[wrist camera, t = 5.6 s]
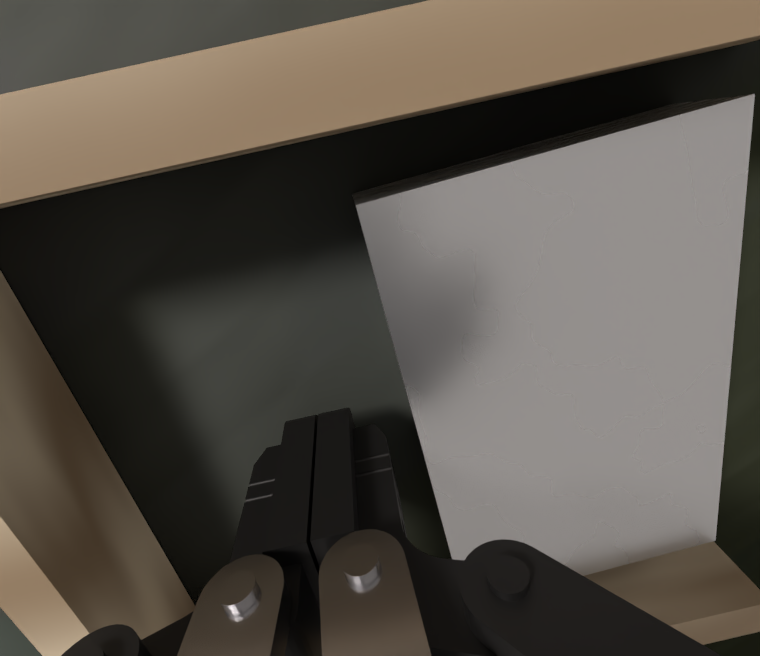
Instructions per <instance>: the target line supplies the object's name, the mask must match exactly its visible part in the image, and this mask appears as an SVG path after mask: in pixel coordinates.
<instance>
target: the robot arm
mask: <svg viewBox="0 0 760 656" xmlns="http://www.w3.org/2000/svg"><path fill="white" fill-rule="evenodd" d="M249 484H250V487H248V491H247V495H246V503H244V507H243V511H242V515H241V519H240V523H239V527H238V531H237V535H236V539H235V543H234V547H233V551H232V555H231V559H230V563H229V564H228V565H226V566H225V567H223V568H222V569H221V570H219V571H218V572H217V573H216V574H215V575H214V576H213V577H212V578H211V579H210V581H209V582H208V583H207V584H206V586H205V587H204V589H203V590H202V592H201V594H200V596H199V598H198V601H197V603H196V606H195V609H194V611H193V612H191V613H190V614H188V615H186V616H185V617H183V618H181V619H179V620H178V621H176V622H174V623H172V624H170V625H168V626H166V627H164V628H163V629H161V630H159V631H157V632H155V633H153V634H151V635H149V636H148V637H146V638H144V639H142V640H141V639H140V638H139V636H138V635H137V633H136V632H135V631H134V629H132V628H131V627H129V626H127V625H123V624H115V625H109V626H106V627H103V628H100V629H98V630H96V631H94V632H91V633H90V634H88V635H86V636H85V637H83V638H82V639H80V640H79V641H78V642H76V643H75V644H74V645H72V646H71V647H70V648H69V649H68V650H67V651H65V652H64V653H63V654H62V655H61V656H721V655H720V654H718V653H716V652H714V651H713V650H711V649H709V648H707V647H706V646H704V645H702V644H701V643H699V642H697V641H695V640H694V639H692V638H690V637H688V636H687V635H685V634H683V633H681V632H680V631H678V630H676V629H674V628H673V627H671V626H669V625H668V624H666V623H664V622H662V621H661V620H659V619H657V618H655V617H654V616H652V615H650V614H648V613H647V612H645V611H643V610H641V609H640V608H638V607H636V606H634V605H633V604H631V603H629V602H628V601H626V600H624V599H622V598H621V597H619V596H617V595H615V594H614V593H612V592H610V591H608V590H607V589H605V588H603V587H601V586H600V585H598V584H596V583H595V582H593V581H591V580H589V579H588V578H586V577H584V576H582V575H581V574H579V573H577V572H575V571H574V570H572V569H570V568H568V567H567V566H565V565H563V564H562V563H560V562H558V561H556V560H555V559H553V558H551V557H549V556H548V555H546V554H544V553H542V552H541V551H539V550H537V549H535V548H534V547H532V546H530V545H528V544H525V543H522V542H519V541H515V540H506V539H500V540H493V541H489V542H486V543H484V544H482V545H479V546H478V547H477V548H475V549H474V550H473V551H472V552H471V553H470V554H469V555H468V556H467V557H466V559H465V560H454V559H444V558H438V557H434V556H431V555H428V554H426V553H424V552H421V551H420V550H419V549H417V548H416V547H414V546H413V545H412V544H411V543H410V542H409V540H408V539H407V535H406V529H405V524H404V518H403V513H402V508H401V502H400V497H399V491H398V486H397V482H396V477H395V473H394V469H393V464H392V460H391V456H390V452H389V447H388V443H387V439H386V436H385V434H384V433H383V432H382V431H381V430H380V429H379V428H378V427H377V426H376V425H375V424H372V425H367V426H363V427H358V428H355V425H354V421H353V418H352V414H351V411H350V408H344V409H340V410H335V411H331V412H326V413H321V414H319V415H313V416H308V417H304V418H299V419H295V420H290V421H286V422H285V426H284V431H283V437H282V442H281V445H278V446H273V447H269V448H266V450H265V451H264V452H263V454H262V455H261V456H260V458H259V459H258V461H257V462H256V463H255V465H254V467H253V471H252V475H251V479H250V483H249Z"/></svg>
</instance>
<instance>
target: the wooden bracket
mask: <svg viewBox="0 0 760 656" xmlns="http://www.w3.org/2000/svg"><path fill="white" fill-rule="evenodd" d="M756 40H760V0H429V1H425V2H420V3H416V4H411V5H406V6H402V7H397V8H393V9H388V10H384V11H379V12H375V13H370V14H365V15H361V16H356V17H352V18H347V19H343V20H338V21H334V22H329V23H324V24H320V25H315V26H311V27H306V28H302V29H297V30H293V31H288V32H283V33H279V34H274V35H270V36H265V37H261V38H256V39H251V40H247V41H242V42H238V43H233V44H229V45H224V46H220V47H215V48H210V49H206V50H201V51H197V52H192V53H188V54H183V55H179V56H174V57H169V58H165V59H160V60H156V61H151V62H147V63H142V64H138V65H133V66H128V67H124V68H119V69H115V70H110V71H106V72H101V73H97V74H92V75H87V76H83V77H78V78H74V79H69V80H65V81H60V82H56V83H51V84H46V85H42V86H37V87H33V88H28V89H24V90H19V91H15V92H10V93H5V94H1V95H0V209H1V208H5V207H10V206H14V205H19V204H23V203H28V202H32V201H37V200H41V199H46V198H50V197H55V196H59V195H64V194H69V193H73V192H78V191H82V190H87V189H91V188H96V187H100V186H105V185H109V184H114V183H118V182H123V181H127V180H132V179H136V178H141V177H145V176H150V175H154V174H159V173H163V172H168V171H172V170H177V169H181V168H186V167H190V166H195V165H199V164H204V163H208V162H213V161H217V160H222V159H226V158H231V157H235V156H240V155H244V154H249V153H253V152H258V151H262V150H267V149H271V148H276V147H280V146H285V145H289V144H294V143H298V142H303V141H307V140H312V139H316V138H321V137H325V136H330V135H334V134H339V133H343V132H348V131H352V130H357V129H361V128H366V127H370V126H375V125H380V124H384V123H389V122H393V121H398V120H402V119H407V118H411V117H416V116H420V115H425V114H429V113H434V112H438V111H443V110H447V109H452V108H456V107H461V106H465V105H470V104H474V103H479V102H483V101H488V100H492V99H497V98H501V97H506V96H510V95H515V94H519V93H524V92H528V91H533V90H537V89H542V88H546V87H551V86H555V85H560V84H564V83H569V82H573V81H578V80H582V79H587V78H591V77H596V76H600V75H605V74H609V73H614V72H618V71H623V70H627V69H632V68H636V67H641V66H645V65H650V64H654V63H659V62H663V61H668V60H672V59H677V58H681V57H686V56H691V55H695V54H700V53H704V52H709V51H713V50H718V49H722V48H727V47H731V46H736V45H740V44H744V43H748V42H752V41H756ZM584 577H586V578H588V579H589V580H591V581H593V582H595V583H596V584H598V585H600V586H601V587H603V588H605V589H607V590H608V591H610V592H612V593H614V594H615V595H617V596H619V597H621V598H622V599H624V600H626V601H628V602H629V603H631V604H633V605H634V606H636V607H638V608H640V609H641V610H643V611H645V612H647V613H648V614H650V615H652V616H654V617H655V618H657V619H659V620H661V621H662V622H664V623H666V624H668V625H669V626H671V627H673V628H674V629H676V630H678V631H680V632H681V633H683V634H685V635H687V636H688V637H690V638H692V639H694V640H695V641H697V642H699V643H701V644H702V645H704V644H709V643H713V642H717V641H722V640H726V639H730V638H734V637H739V636H743V635H747V634H751V633H756V632H760V589H759V588H758V587H757V586H756V585H755V584H754V583H753V582H752V581H751V580H750V579H749V578H748V577H747V576H746V575H745V574H744V573H743V572H742V571H741V570H740V568H739V567H738V566H737V565H736V564H735V563H734V562H733V561H732V560H731V559H730V558H729V557H728V556H727V555H726V554H725V553H724V552H723V551H722V550H721V549H720V548H719V547H718V545H717V544H716V543H715V542H714V541H713V542H709V543H705V544H701V545H698V546H694V547H690V548H686V549H683V550H679V551H675V552H671V553H668V554H664V555H660V556H656V557H653V558H649V559H645V560H641V561H638V562H634V563H630V564H626V565H623V566H619V567H615V568H611V569H608V570H604V571H600V572H596V573H592V574H589V575H585V576H584ZM0 607H1V608H2V609H3V611H4V612H5V613H6V614H7V615H8V616H9V618H10V619H11V620H12V621H13V622H14V623H15V624H16V626H17V627H18V628H19V629H20V630H21V631H22V633H23V634H24V635H25V636H26V637H27V638H28V640H29V641H30V642H31V643H32V644H33V645H34V646H35V648H36V649H37V650H38V651H39V652H40V653H41V655H42V656H61V655H62V654H63V653H64V652H65V651H67V650H68V649H69V648H70V647H71V646H72V645H74V644H75V643H76V642H78V641H79V640H80V639H82V638H83V637H85V636H86V635H88V634H90V633H91V632H94V631H96V630H98V629H100V628H103V627H106V626H109V625H115V624H123V625H127V626H129V627H131V628H132V629H134V631H135V632H136V633H137V635H138V636H139V638H140V639H141V640H142V639H144V638H146V637H148V636H149V635H151V634H153V633H155V632H157V631H159V630H161V629H163V628H164V627H166V626H168V625H170V624H172V623H174V622H176V621H178V620H179V619H181V618H183V617H185V616H186V615H188V614H190V613H191V612H193V611H194V609H195V605H194V603H193V601H192V600H191V598H190V596H189V595H188V593H187V591H186V589H185V588H184V586H183V584H182V583H181V581H180V579H179V577H178V576H177V574H176V572H175V570H174V569H173V567H172V565H171V564H170V562H169V560H168V558H167V557H166V555H165V553H164V552H163V550H162V548H161V546H160V545H159V543H158V541H157V539H156V538H155V536H154V534H153V533H152V531H151V529H150V527H149V526H148V524H147V522H146V520H145V519H144V517H143V515H142V514H141V512H140V510H139V508H138V507H137V505H136V503H135V502H134V500H133V498H132V496H131V495H130V493H129V491H128V489H127V488H126V486H125V484H124V483H123V481H122V479H121V477H120V476H119V474H118V472H117V471H116V469H115V467H114V465H113V464H112V462H111V460H110V458H109V457H108V455H107V453H106V452H105V450H104V448H103V446H102V445H101V443H100V441H99V439H98V438H97V436H96V434H95V433H94V431H93V429H92V427H91V426H90V424H89V422H88V421H87V419H86V417H85V415H84V414H83V412H82V410H81V408H80V407H79V405H78V403H77V402H76V400H75V398H74V396H73V395H72V393H71V391H70V390H69V388H68V386H67V384H66V383H65V381H64V379H63V377H62V376H61V374H60V372H59V371H58V369H57V367H56V365H55V364H54V362H53V360H52V358H51V357H50V355H49V353H48V352H47V350H46V348H45V346H44V345H43V343H42V341H41V340H40V338H39V336H38V334H37V333H36V331H35V329H34V327H33V326H32V324H31V322H30V321H29V319H28V317H27V315H26V314H25V312H24V310H23V309H22V307H21V305H20V303H19V302H18V300H17V298H16V296H15V295H14V293H13V291H12V290H11V288H10V286H9V284H8V283H7V281H6V279H5V277H4V276H3V274H2V272H1V271H0Z"/></svg>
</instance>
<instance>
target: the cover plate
mask: <svg viewBox="0 0 760 656" xmlns="http://www.w3.org/2000/svg"><path fill="white" fill-rule="evenodd" d="M754 99H755V94H749V95H740V96H732V97H724V98H716V99H708V100H700V101H692V102H684V103H676V104H670V105H667V106H663V107H660V108H656V109H653V110H649V111H645V112H642V113H638V114H635V115H631V116H628V117H624V118H620V119H617V120H613V121H610V122H606V123H603V124H599V125H596V126H592V127H588V128H585V129H581V130H578V131H574V132H571V133H567V134H563V135H560V136H556V137H553V138H549V139H546V140H542V141H538V142H535V143H531V144H528V145H524V146H521V147H517V148H514V149H510V150H506V151H503V152H499V153H496V154H492V155H489V156H485V157H481V158H478V159H474V160H471V161H467V162H464V163H460V164H456V165H453V166H449V167H446V168H442V169H439V170H435V171H431V172H428V173H424V174H421V175H417V176H414V177H410V178H407V179H403V180H399V181H396V182H392V183H389V184H385V185H382V186H378V187H374V188H371V189H367V190H364V191H360V192H357V193H353V194H352V196H353V199H354V203H355V207H356V210H357V214H358V218H359V221H360V225H361V229H362V232H363V236H364V240H365V243H366V247H367V251H368V254H369V258H370V262H371V265H372V269H373V273H374V276H375V280H376V284H377V287H378V291H379V295H380V298H381V302H382V306H383V309H384V313H385V317H386V320H387V324H388V328H389V331H390V335H391V339H392V342H393V346H394V350H395V353H396V357H397V361H398V364H399V368H400V372H401V375H402V379H403V383H404V386H405V390H406V394H407V397H408V401H409V405H410V408H411V412H412V416H413V419H414V423H415V427H416V430H417V434H418V438H419V441H420V445H421V449H422V452H423V456H424V460H425V463H426V467H427V471H428V474H429V478H430V482H431V485H432V489H433V493H434V496H435V500H436V504H437V507H438V511H439V515H440V518H441V522H442V526H443V529H444V533H445V536H446V540H447V544H448V547H449V551H450V555H451V558H452V559H454V560H465V559H466V557H467V556H468V555H469V554H470V553H471V552H472V551H473V550H474V549H475V548H477V547H478V546H479V545H482V544H484V543H486V542H489V541H493V540H500V539H506V540H515V541H519V542H522V543H525V544H528V545H530V546H532V547H534V548H535V549H537V550H539V551H541V552H542V553H544V554H546V555H548V556H549V557H551V558H553V559H555V560H556V561H558V562H560V563H562V564H563V565H565V566H567V567H568V568H570V569H572V570H574V571H575V572H577V573H579V574H581V575H582V576H585V575H589V574H592V573H596V572H600V571H604V570H608V569H611V568H615V567H619V566H623V565H626V564H630V563H634V562H638V561H641V560H645V559H649V558H653V557H656V556H660V555H664V554H668V553H671V552H675V551H679V550H683V549H686V548H690V547H694V546H698V545H701V544H705V543H709V542H713V541H716V530H717V519H718V507H719V496H720V485H721V473H722V462H723V451H724V439H725V428H726V417H727V405H728V394H729V383H730V371H731V360H732V348H733V337H734V326H735V314H736V303H737V292H738V280H739V269H740V258H741V246H742V235H743V224H744V212H745V201H746V190H747V178H748V167H749V156H750V144H751V133H752V122H753V110H754Z"/></svg>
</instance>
